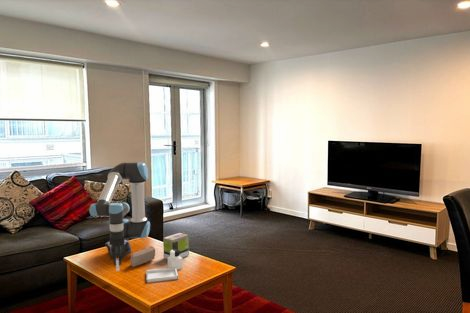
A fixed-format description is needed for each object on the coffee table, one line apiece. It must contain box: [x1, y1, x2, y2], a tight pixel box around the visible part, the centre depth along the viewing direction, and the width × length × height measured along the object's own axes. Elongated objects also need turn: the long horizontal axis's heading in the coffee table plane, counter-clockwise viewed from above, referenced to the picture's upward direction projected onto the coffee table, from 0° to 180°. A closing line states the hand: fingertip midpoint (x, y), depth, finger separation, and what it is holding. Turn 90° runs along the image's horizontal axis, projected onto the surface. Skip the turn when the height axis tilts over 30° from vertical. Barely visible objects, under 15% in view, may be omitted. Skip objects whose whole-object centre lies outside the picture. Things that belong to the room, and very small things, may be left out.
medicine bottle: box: [167, 249, 184, 271], centre depth 218 cm, size 7×7×12 cm
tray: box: [145, 267, 179, 284], centre depth 206 cm, size 14×18×2 cm
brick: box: [129, 245, 156, 268], centre depth 226 cm, size 16×8×5 cm
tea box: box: [162, 232, 190, 260], centre depth 237 cm, size 15×10×15 cm, turn 141°
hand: (117, 270), depth 199 cm, fingers closed
